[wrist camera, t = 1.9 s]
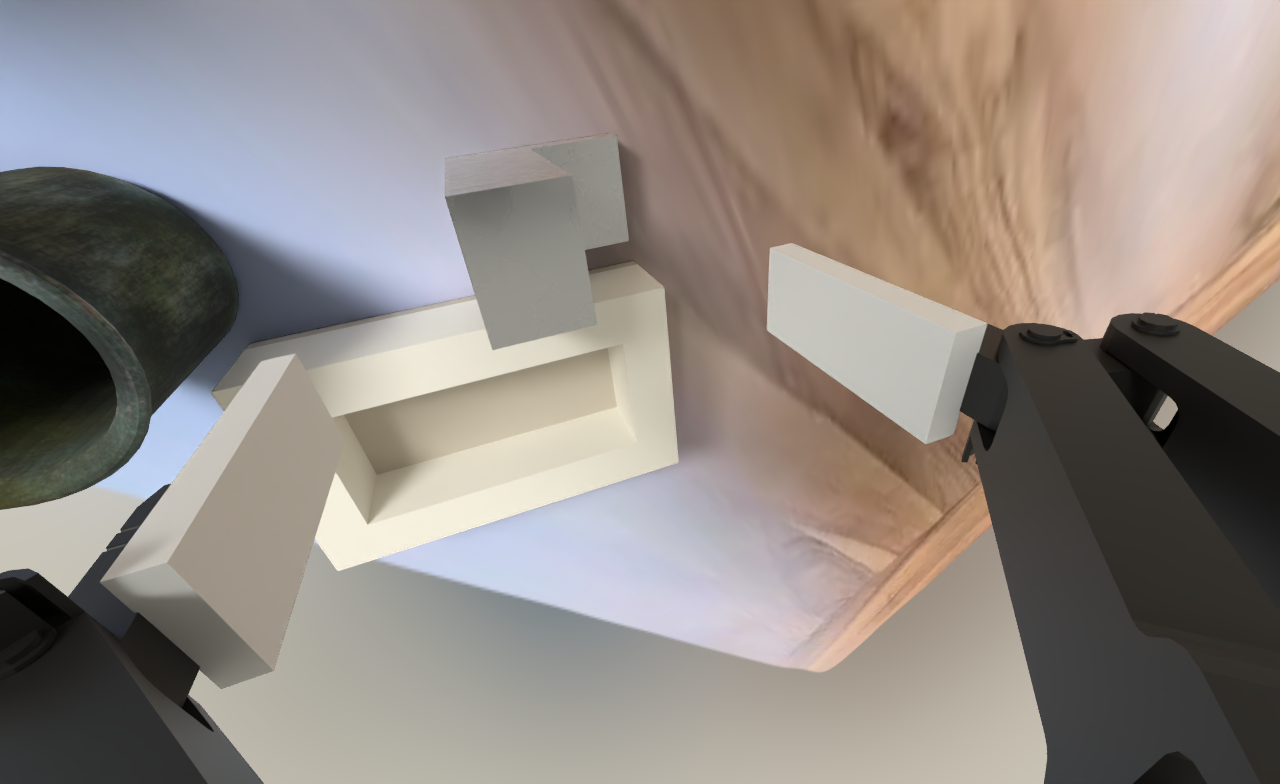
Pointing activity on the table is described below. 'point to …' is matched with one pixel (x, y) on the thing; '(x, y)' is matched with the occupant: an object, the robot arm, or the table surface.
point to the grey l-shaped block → (536, 231)
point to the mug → (95, 323)
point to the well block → (480, 413)
